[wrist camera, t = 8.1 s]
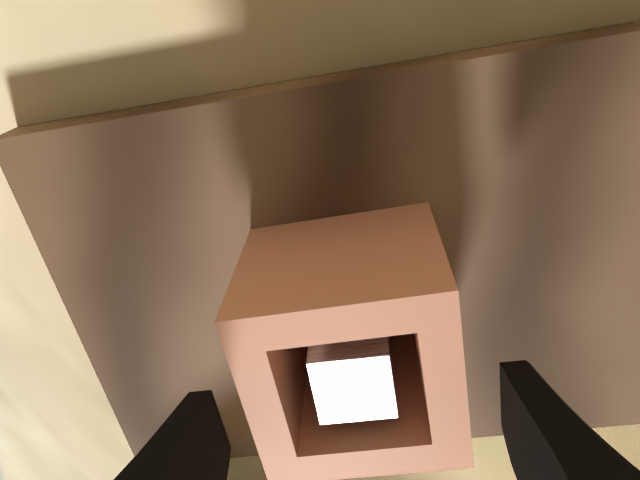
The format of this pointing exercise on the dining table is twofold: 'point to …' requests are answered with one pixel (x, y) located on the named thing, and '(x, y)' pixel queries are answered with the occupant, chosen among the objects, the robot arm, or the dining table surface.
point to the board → (354, 197)
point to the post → (352, 380)
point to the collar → (349, 325)
